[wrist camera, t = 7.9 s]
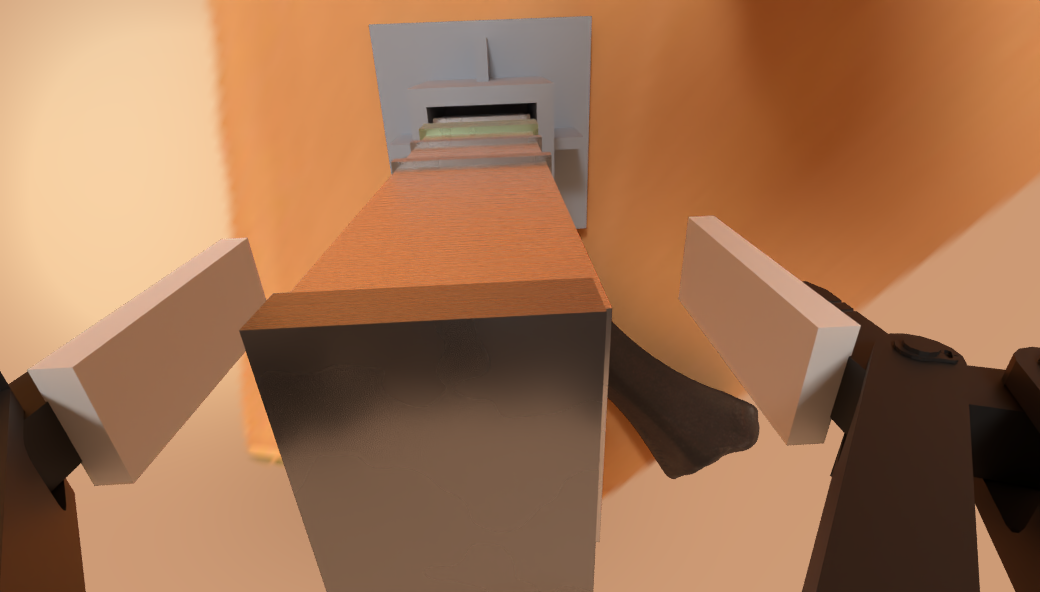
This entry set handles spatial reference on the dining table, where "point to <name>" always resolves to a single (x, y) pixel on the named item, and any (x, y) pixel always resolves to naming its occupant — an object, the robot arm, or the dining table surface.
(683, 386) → the dark brown bone
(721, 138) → the dining table surface
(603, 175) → the dining table surface
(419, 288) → the column
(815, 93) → the dining table surface
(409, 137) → the stand base
